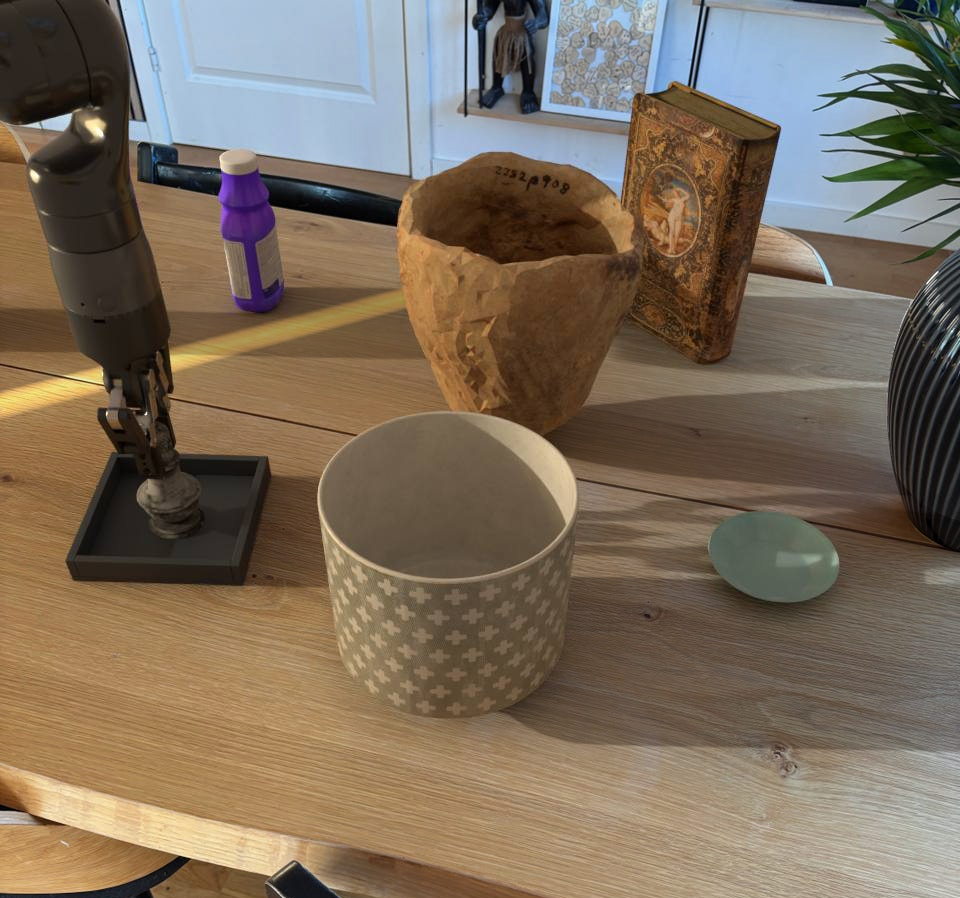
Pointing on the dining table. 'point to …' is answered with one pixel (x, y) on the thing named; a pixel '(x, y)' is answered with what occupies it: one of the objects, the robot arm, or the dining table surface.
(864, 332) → the dining table surface
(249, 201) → the bottle
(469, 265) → the tan textured vessel
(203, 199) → the dining table surface
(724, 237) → the book
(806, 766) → the dining table surface
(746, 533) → the saucer
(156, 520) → the chess piece
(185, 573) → the tray
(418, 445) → the planter
